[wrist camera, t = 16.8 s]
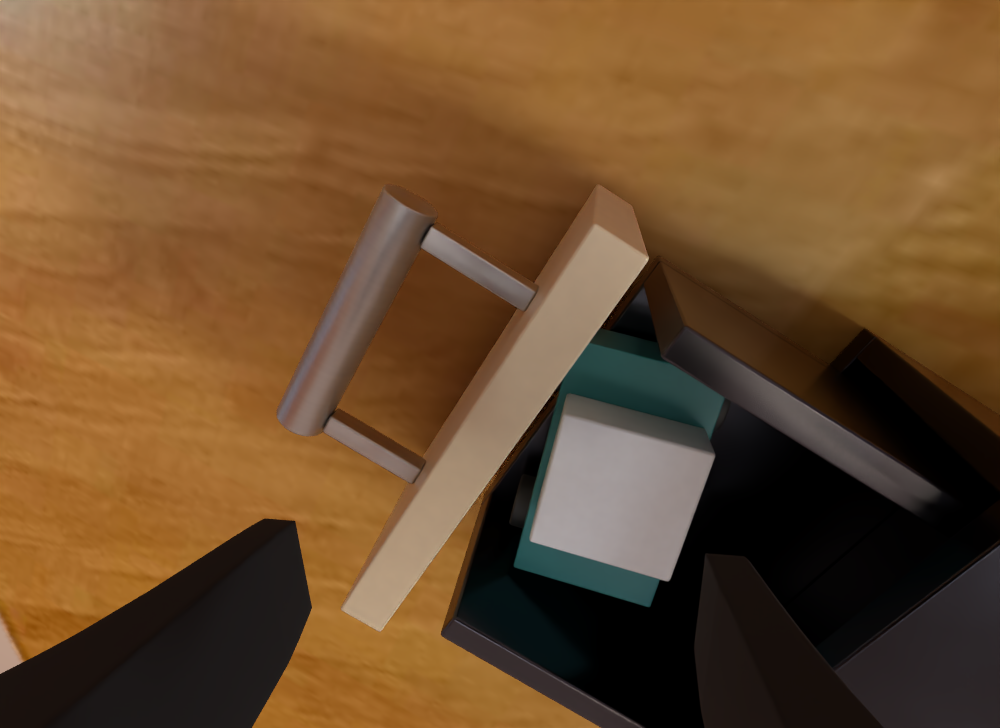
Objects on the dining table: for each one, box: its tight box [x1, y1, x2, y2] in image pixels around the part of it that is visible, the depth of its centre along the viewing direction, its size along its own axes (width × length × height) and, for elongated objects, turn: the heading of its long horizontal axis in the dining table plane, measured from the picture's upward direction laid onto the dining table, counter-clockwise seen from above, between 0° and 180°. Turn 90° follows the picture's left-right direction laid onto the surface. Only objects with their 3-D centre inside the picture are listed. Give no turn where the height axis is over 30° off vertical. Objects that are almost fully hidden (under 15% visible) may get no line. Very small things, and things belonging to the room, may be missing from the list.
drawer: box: [277, 184, 1000, 728], centre depth 16 cm, size 18×11×7 cm, turn 60°
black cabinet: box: [815, 329, 1000, 728], centre depth 17 cm, size 15×13×9 cm
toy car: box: [509, 328, 731, 607], centre depth 16 cm, size 7×5×4 cm
